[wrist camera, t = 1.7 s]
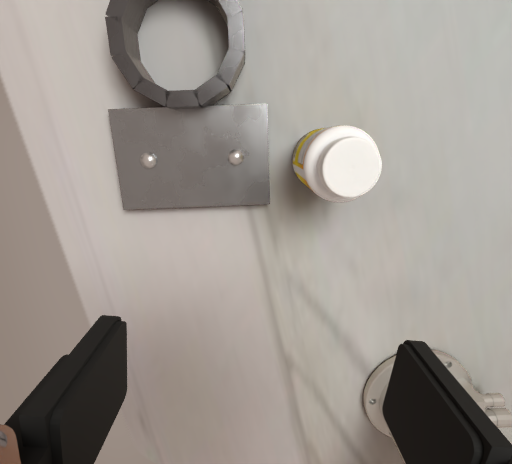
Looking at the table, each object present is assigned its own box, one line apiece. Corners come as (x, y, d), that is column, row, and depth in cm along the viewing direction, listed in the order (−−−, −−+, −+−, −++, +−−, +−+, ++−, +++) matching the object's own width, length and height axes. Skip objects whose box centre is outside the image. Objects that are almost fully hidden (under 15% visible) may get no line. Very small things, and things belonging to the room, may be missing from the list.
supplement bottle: (351, 182, 32) (396, 202, 22) (295, 192, 32) (315, 216, 22) (346, 123, 30) (392, 116, 20) (287, 133, 30) (305, 132, 20)
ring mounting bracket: (72, -161, 24) (43, -210, 21) (260, -167, 24) (261, -217, 21) (128, 207, 32) (113, 215, 29) (269, 201, 32) (271, 209, 29)
